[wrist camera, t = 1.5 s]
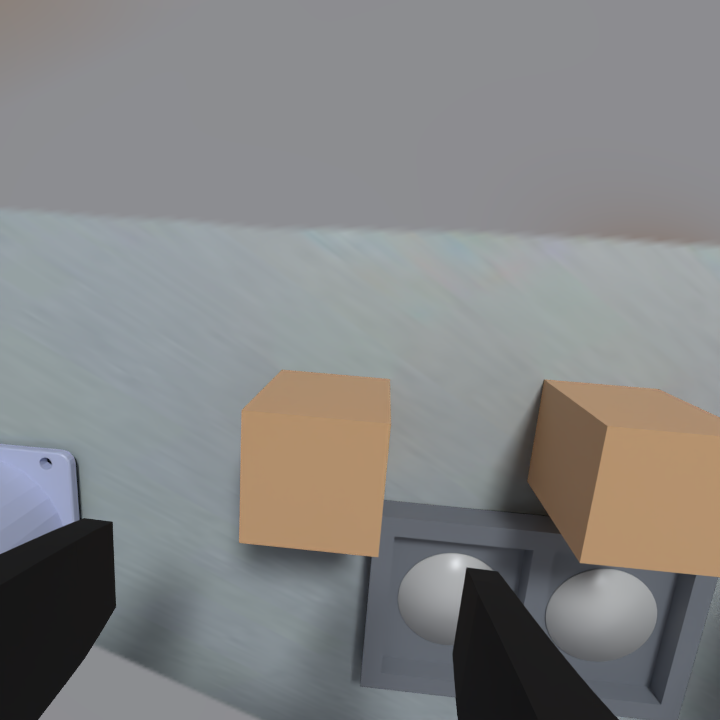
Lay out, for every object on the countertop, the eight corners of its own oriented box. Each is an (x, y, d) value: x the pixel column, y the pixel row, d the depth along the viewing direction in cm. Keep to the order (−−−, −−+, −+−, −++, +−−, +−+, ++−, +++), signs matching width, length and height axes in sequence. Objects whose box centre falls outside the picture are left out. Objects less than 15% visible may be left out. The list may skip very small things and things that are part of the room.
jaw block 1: (278, 468, 18) (239, 542, 13) (282, 369, 17) (241, 410, 13) (380, 478, 18) (378, 557, 13) (389, 378, 17) (391, 423, 12)
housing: (362, 661, 20) (360, 686, 19) (376, 499, 18) (375, 515, 17) (659, 695, 19) (676, 722, 18) (703, 531, 18) (725, 550, 17)
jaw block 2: (526, 480, 18) (579, 563, 13) (543, 379, 17) (607, 426, 12) (634, 490, 18) (729, 578, 13) (657, 388, 17) (768, 440, 12)
